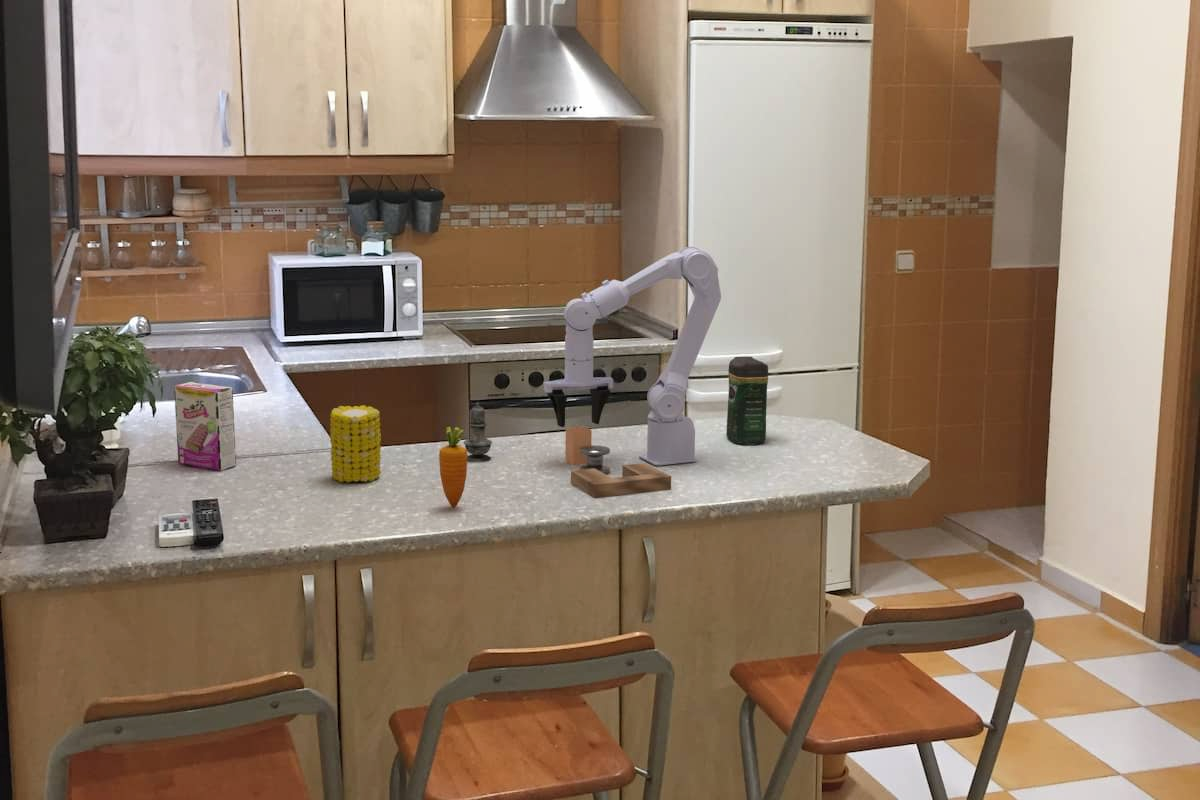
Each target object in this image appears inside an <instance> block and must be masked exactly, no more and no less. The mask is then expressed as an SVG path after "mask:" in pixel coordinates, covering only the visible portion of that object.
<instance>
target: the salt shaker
mask: <svg viewBox="0 0 1200 800" xmlns="http://www.w3.org/2000/svg"><path fill="white" fill-rule="evenodd" d="M485 412H486V411H485V408H484V407H483V406H480V403H479V402H478V401H477V402H476V403H475V406H473V407H471V409H470V422H469V423H468V425H469V426H470V427H469V428H470V429H469V430H470V431H469V432H470V435H469V438H468V439H466V440H464V441H463V444H464V448H465V449H466V450H467V453H468V454H469V455H467V462H472V463H483V462H484V461H485V462H489V461H490V460H492V459H491V458H492V457H491V456H489V455H488V452H489V451H490V449H491V445H492V444H493V441H492V440H491V439H489V438H487V436H486V426H487V422H486V417H485V415H486V413H485Z"/></svg>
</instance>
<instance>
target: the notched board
mask: <svg viewBox="0 0 1200 800" xmlns="http://www.w3.org/2000/svg"><path fill="white" fill-rule="evenodd" d="M621 472H622V473H621V476H620V477H611V476H608V475H607V474H604V473H602V472H600V471H598V470H597V469H595V468H593V469H583V470H580V469H576V470H571V471H570V484H571V485H573V486H575V487H576V488H578V489H580V490H581V491H583V492H584V493H586V494H587V495H589V496H590V497H592V498H596V499H597V498H605V497H606V498H607V497H613V496H622V495H631V494H638V493H649V492H657V491H665V490H672V476H671V475H670V474H668V473H665V472H664V471H662V470H660V469H658V468H656V467H654V466H652V465H650V464H648V463H647V462H642V463H641V462H640V463H632V464H623V465H622V468H621Z"/></svg>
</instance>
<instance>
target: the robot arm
mask: <svg viewBox="0 0 1200 800" xmlns="http://www.w3.org/2000/svg"><path fill="white" fill-rule="evenodd" d="M665 279H668V280H669V279H670V280H683V279H684V280H685V281H686V282H687V283H688V286H689V288H690V290H691V293H692V294H693V296H694V299H693V301H692V304H691V306H690V309H689V310H688V314H687V316H686V319H685V320H684V323H683V325H682V328H681V331H680V332H679V335H678V338H677V340H676V343H675V345H674V347H673V350H672V351H671V355H670V357H669V360H668V362H667V365H666V367H665V369H664V370H663V371H662V372H661V373H660V374H659V377H658V379H657V381H656V382H655V383H654V384H653V385H652V386H651V387H650V388H649V390H648V392H647V395H646V398H647V401H646V402H647V404H648V405H649V407H650V408H651V410H650V412H649V413H648V415H647V433H646V435H647V437H646V439H647V443H646V445H647V447H646V454H639V456H638V457H639V458H640V459H642V460H644V461H645V462H648V463H649V464H651V465H654V466H656V467H657V466H667V465H677V464H685V463H692V462H693V463H695V462H697V459H696V458H695V457H696V456H695V451H696V450H695V449H696V448H695V447H696V429H695V423H694V421H693V419H692V418H690V416H683V415H682V414H683V412H684V410H685V397H686V394H687V391H688V383H689V382H688V381H689V376H690V374H691V371H692V370H693V368H694V365H695V363H696V360H697V357H698V355H699V353H700V351H701V348H702V345H703V343H704V340H705V339H706V336H707V333H708V331H709V329H710V326H711V324H712V321H713V319H714V317H715V314H716V312H717V310H718V307H719V306H720V303H721V299H722V293H721V287H720V281H719V268H718V266H717V264H716V263H715V261H714V259H713V258H712V256H711V255H710V254H709V253H708V252H706V251H704V250H701V249H699V248H697V247H695V246H686V247H684V248H682V249H681V250H680V251H676V252H672V253H670V254H668V255H666V256H665V257H662V258H660V259H659V260H657V261H656V262H654V263H652V264H650V265H649V266H647V267H646V268H643V269H642V270H640V271H639V272H637V273H635V274H632V276H630V277H628V278H626V279H625V280H623V281H620V280H617V279H612V280H610V281H609V280H608V279H606V280H604V281H602V282H601V286H599V287H597V288H595V289H593V290H592V291H590V292H583V293H581V297H582V298H573V299H571V300H570V301H568V302H567V304H566V306H565V308H564V310H563V311H562V313H563V314H562V315H563V317H564V320H565V321H566V325H565V336H564V378H560V379H555V380H548V381H543V391H544V392H545V393H546V394H547V397H548V399H549V401H550V403H551V406H552V408H553V411H554V415H555V417H556V424H557V426H558V427H561V428H566V406H567V400H568V395H566V394H565V392H566V391H580V390H589V393H590V398H591V399H590V401H591V422H592V423H593V424H595V425H599V424H600V422H601V421H600V420H601V417H602V413H603V410H604V407H605V405H606V402H607V400H608V399H609V398H610V396H611V389H612V388H614V378H612V377H610V376H607V377H606V376H605V377H604V376H603V377H594V335H593V332H594V331H593V326H594V325H595V323H596V321H597V320H601V319H603V318H606V317H607V316H608V315H610V314H613V313H614V312H616V311H617V310H620V309H621V308H623V307H626V306H627V305H628V303H629V300H630V297H631V296H633V295H635V294H637V293H639V292H641V291H642V290H645V289H647V288H650V287H651V286H653V285H654V284H657V283H660V282H661V281H663V280H665Z"/></svg>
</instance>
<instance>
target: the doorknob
mask: <svg viewBox="0 0 1200 800" xmlns="http://www.w3.org/2000/svg"><path fill="white" fill-rule="evenodd" d="M580 453H581V454H585V455H587V464H584V465H581V466H580V467H579V470H583V469H593V468H595V469H597V470H598V471H600V472H602V473H604V474H606V475H607V474H609V473H610V471H611V470H610V466H606V465H603V464H604V463H603V462H604V461H603V460H604V458H603V457H604V455H605V456H606V455H608V454H610V453H611V449H610V447H608V446H604V445H597V444H596V445H595V444H594V445H592V444H591V446H584V447H581V448H580Z"/></svg>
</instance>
